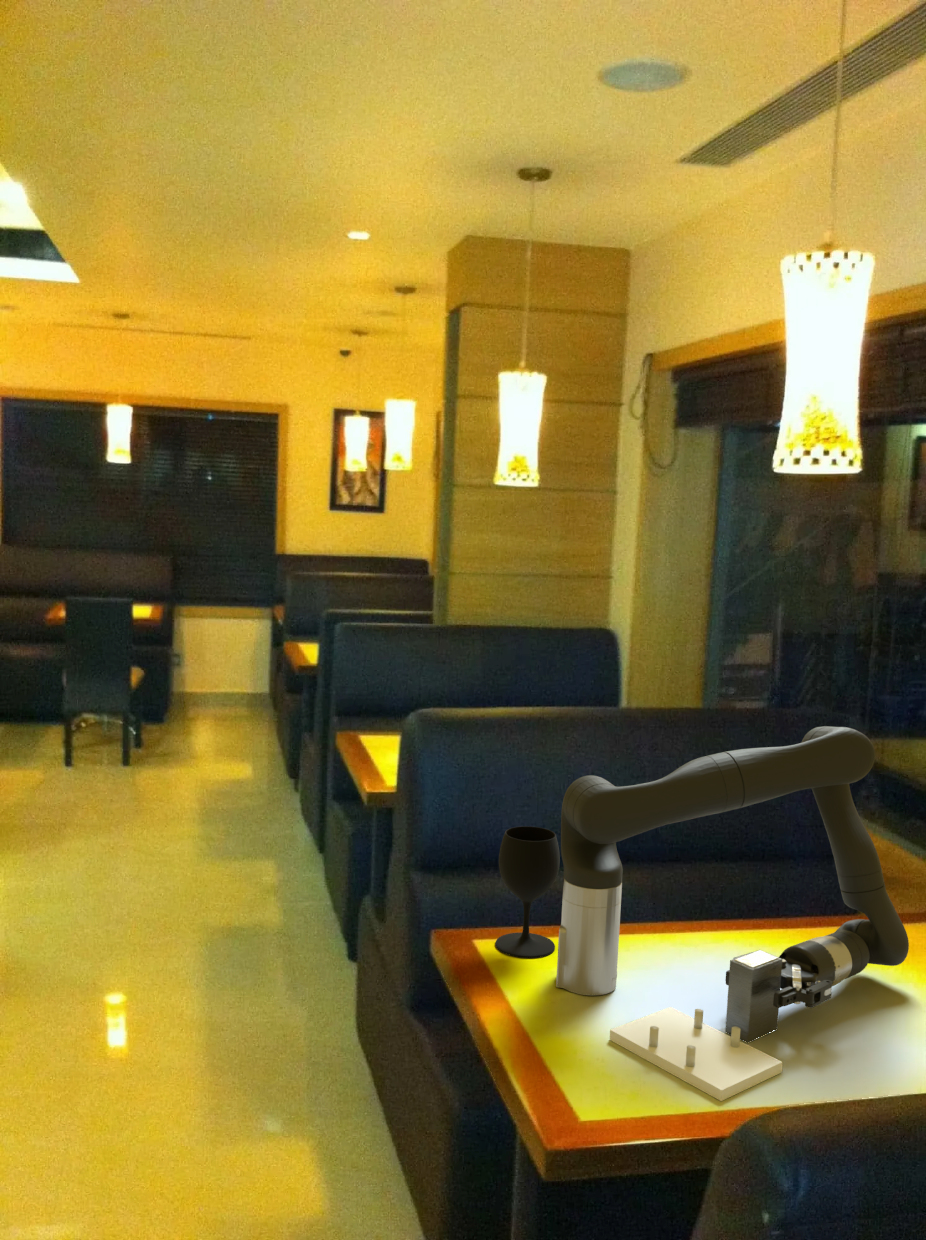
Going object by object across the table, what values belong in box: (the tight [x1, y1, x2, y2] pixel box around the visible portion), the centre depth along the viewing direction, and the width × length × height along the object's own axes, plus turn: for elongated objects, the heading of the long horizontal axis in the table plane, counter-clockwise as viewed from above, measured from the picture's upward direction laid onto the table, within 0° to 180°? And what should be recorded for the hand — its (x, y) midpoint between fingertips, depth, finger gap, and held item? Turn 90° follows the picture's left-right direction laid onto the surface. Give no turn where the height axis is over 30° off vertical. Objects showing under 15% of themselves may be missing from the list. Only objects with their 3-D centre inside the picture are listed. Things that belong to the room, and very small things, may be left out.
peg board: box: [609, 1006, 783, 1102], centre depth 157 cm, size 20×13×4 cm, turn 39°
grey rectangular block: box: [724, 949, 782, 1044], centre depth 165 cm, size 4×7×11 cm, turn 129°
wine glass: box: [495, 825, 561, 959], centre depth 192 cm, size 10×10×20 cm
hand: (751, 989), depth 164 cm, fingers open, 8 cm apart
